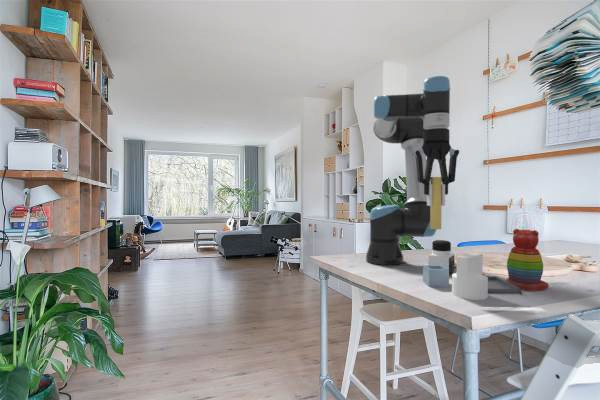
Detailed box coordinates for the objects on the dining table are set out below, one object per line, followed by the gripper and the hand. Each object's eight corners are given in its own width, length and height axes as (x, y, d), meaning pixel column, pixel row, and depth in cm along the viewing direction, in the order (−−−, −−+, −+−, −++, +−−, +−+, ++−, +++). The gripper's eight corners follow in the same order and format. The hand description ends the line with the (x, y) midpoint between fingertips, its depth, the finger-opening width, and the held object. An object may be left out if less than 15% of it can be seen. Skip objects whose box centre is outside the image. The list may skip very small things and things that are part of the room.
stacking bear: (550, 287, 106) (551, 229, 105) (541, 294, 99) (542, 232, 98) (510, 280, 114) (511, 226, 113) (499, 286, 107) (500, 229, 106)
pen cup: (422, 283, 111) (422, 265, 111) (441, 283, 111) (441, 265, 110) (428, 289, 105) (428, 269, 105) (448, 289, 105) (449, 269, 105)
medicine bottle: (449, 277, 118) (449, 242, 117) (427, 274, 122) (428, 241, 121) (454, 273, 123) (454, 240, 123) (433, 270, 127) (434, 238, 127)
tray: (464, 281, 112) (464, 275, 112) (496, 282, 112) (496, 276, 112) (485, 295, 98) (485, 288, 98) (521, 295, 98) (521, 288, 98)
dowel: (428, 228, 109) (429, 177, 108) (439, 228, 109) (439, 177, 108) (432, 229, 106) (432, 177, 105) (442, 229, 106) (443, 176, 105)
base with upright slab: (462, 290, 103) (462, 250, 103) (493, 298, 96) (494, 255, 96) (445, 296, 98) (445, 254, 97) (477, 305, 91) (478, 259, 90)
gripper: (412, 127, 103) (412, 206, 104) (468, 126, 102) (467, 206, 103) (406, 131, 110) (406, 205, 111) (458, 130, 109) (457, 204, 110)
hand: (435, 205), depth 107 cm, fingers closed on dowel, 3 cm apart
